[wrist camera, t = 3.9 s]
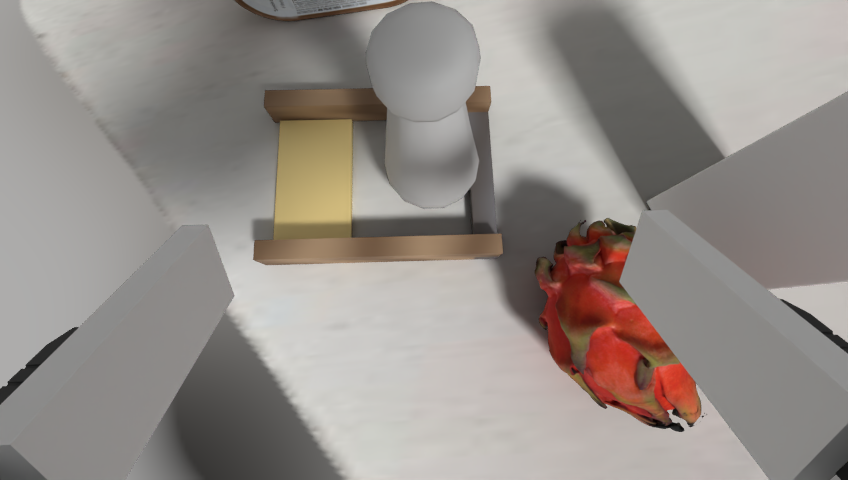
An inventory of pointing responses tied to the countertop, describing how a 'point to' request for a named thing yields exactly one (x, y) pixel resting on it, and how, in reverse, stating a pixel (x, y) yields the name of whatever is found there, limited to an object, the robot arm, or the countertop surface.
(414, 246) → the channel
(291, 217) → the yellow panel
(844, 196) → the milk carton
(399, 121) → the salt shaker
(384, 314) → the countertop surface
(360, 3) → the tin
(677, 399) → the dragon fruit
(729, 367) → the robot arm
